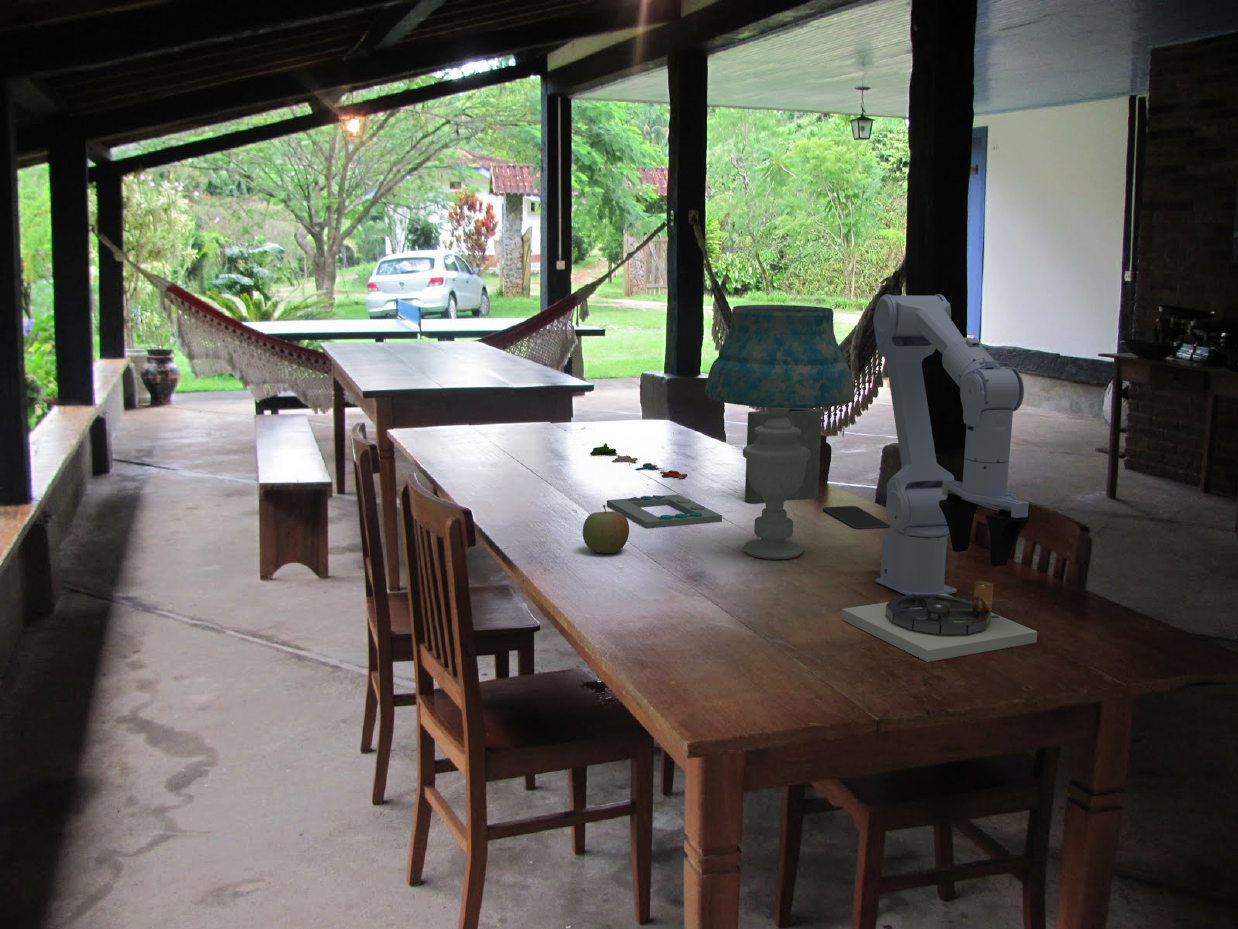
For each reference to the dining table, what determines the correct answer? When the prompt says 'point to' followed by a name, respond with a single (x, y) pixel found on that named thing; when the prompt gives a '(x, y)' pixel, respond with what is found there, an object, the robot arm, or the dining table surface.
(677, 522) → the picture frame
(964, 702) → the dining table surface
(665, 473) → the toy spaceship set
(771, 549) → the table lamp
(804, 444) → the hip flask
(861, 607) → the base plate
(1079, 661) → the dining table surface
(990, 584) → the handwheel
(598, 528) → the fruit
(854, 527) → the smartphone
